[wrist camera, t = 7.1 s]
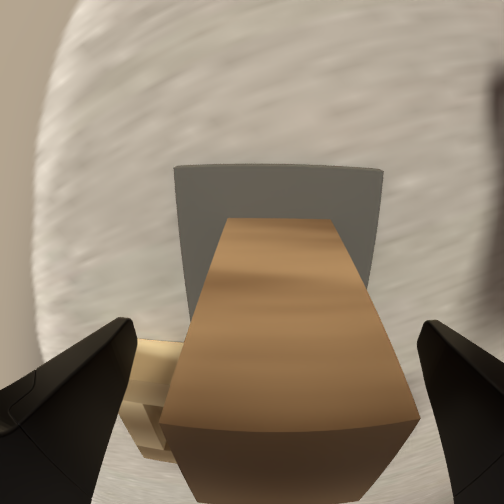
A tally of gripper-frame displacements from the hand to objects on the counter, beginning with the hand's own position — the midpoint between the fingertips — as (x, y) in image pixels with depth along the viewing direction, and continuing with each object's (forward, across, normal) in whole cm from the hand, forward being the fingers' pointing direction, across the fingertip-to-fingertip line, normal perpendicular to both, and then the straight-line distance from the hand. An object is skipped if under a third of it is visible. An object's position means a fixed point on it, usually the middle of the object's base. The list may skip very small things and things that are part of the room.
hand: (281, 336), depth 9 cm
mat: (+5, 0, 0) cm, 5 cm away
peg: (+5, 0, 0) cm, 5 cm away
